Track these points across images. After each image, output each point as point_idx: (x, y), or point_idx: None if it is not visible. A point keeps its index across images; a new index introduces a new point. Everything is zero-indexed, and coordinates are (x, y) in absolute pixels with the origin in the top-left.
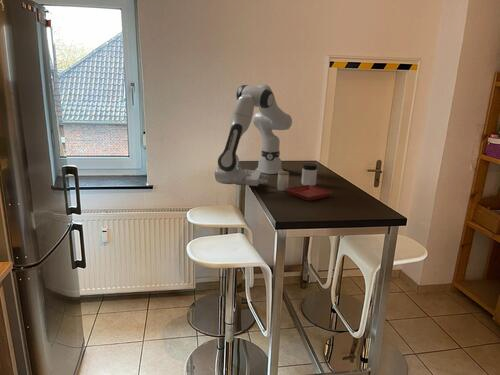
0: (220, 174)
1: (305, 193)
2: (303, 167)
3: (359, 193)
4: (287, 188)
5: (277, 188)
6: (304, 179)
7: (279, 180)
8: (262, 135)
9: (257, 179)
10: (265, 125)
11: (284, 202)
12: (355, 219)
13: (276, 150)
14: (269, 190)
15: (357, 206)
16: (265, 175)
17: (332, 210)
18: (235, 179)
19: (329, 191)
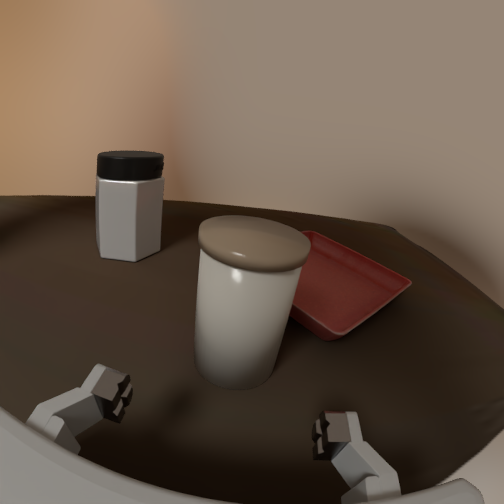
0: None
1: (305, 285)
2: (125, 173)
3: (245, 209)
4: (323, 323)
5: (249, 382)
6: (140, 232)
7: (281, 320)
8: None
9: (465, 483)
10: None
11: (461, 361)
12: (442, 261)
13: None
14: (281, 445)
15: (361, 238)
16: (92, 396)
17: (425, 273)
18: None
19: (306, 232)
